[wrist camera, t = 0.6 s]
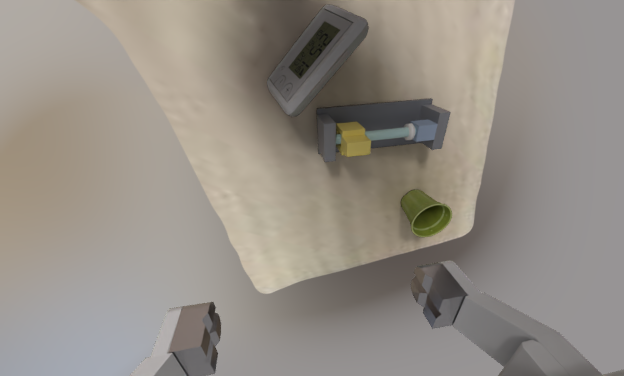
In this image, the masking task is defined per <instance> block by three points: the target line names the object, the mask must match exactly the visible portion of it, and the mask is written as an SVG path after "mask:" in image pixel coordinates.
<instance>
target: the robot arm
mask: <svg viewBox="0 0 624 376" xmlns="http://www.w3.org/2000/svg"><path fill="white" fill-rule="evenodd" d="M414 274H415V277H414V278H413V279H412V281H411V290H412V293H413V296H414V298H415V300H416V302H417V303H418V304H420V305H421V306H423V307H424V309H423V313H424V315H425V317H426V319H427V320H428V322H429V324H430V325H431V327H432V328H439V327H444V326H451V325H453V327H454V328H455V329H457V330H458V331H459V332H460V333H462V334H463V335H464V336H466V337H467V338H468V339H469V340H471V341H472V342H473V343H474V344H476V345H477V346H478V347H479V348H481V349H482V350H483V351H485V352H486V353H487V354H488V355H490V356H491V357H492V358H494V359H495V360H496V361H497V362H498V363H500V364H501V365H502V366H504V368H503V370H502V371H501V372H500V374H499V375H498V376H624V370H620V371H616V372H612V373H608V374H604V375H602V374H601V373H600V372H599V371H598V370H597V369H596V368H595V367H594V366H593V365H592V364H591V363H590V362H589V361H587V359H585V357H583V355H582V354H580V352H579V351H578V350H577V349H575V348H574V347H573V346H572V345H571V344H570V343H569V342H568V341H567V340H566V339H565V338H564V337H563V336H562V335H561V334H560V333H559V332H557V331H555V330H553V329H551V328H550V327H548V326H546V325H544V324H542V323H540V322H538V321H537V320H535V319H533V318H531V317H529V316H527V315H525V314H524V313H522V312H520V311H518V310H516V309H514V308H512V307H511V306H509V305H507V304H505V303H503V302H501V301H499V300H498V299H496V298H494V297H492V296H490V295H488V294H486V293H481V292H480V291H479V290H478V289H477V288H476V286H475V285H474V284H473V283H472V282H471V281H470V280H469V278H468V277H466V275H465V274H464V273H463V272H462V271H461V269H459V267H458V266H457V265H456V264H455V263H454V262H453V261H444V262H439V263H438V262H437V263H432V264H426V265H421V266H417V267H416V268H415V269H414ZM220 335H221V322H220V317H219V315H218V314H217V313H215V305H214V303H213V302H210V303H202V304H197V305H190V306H183V307H176V308H170V309H169V310H168V312H167V313H166V315H165V318H164V320H163V323H162V326H161V329H160V331H159V334H158V337H157V340H156V343H155V345H154V348H153V351H152V354H151V356H150V357H148V358H145V359H144V360H143V361H142V363H141V364H140V365H139V366H138V367H137V368H136V369H135V370H134V372H132V374H131V375H130V376H206V375H211V374H215V370H216V363H217V357H218V352H217V350H216V348H215V346H216V345H217V344H218V342H219V341H220Z"/></svg>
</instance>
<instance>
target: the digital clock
mask: <svg viewBox="0 0 624 376" xmlns="http://www.w3.org/2000/svg"><path fill="white" fill-rule="evenodd" d="M367 32H368V22H367V21H366V20H365V19H364V18H362V17H360V16H357V15H355V14H353V13H351V12H348V11H346V10H344V9H341V8H339V7H337V6H334V5H325V6H324V7H323V8H322V9H321V10H320V12H319V13H318V14H317V15H316V17H315V18H314V19H313V20H312V22H311V23H310V24H309V26H308V27H307V28H306V30H305V31H304V32H303V33H302V35H301V36H300V37H299V39H298V40H297V41H296V43H295V44H294V45H293V46H292V48H291V49H290V50H289V52H288V53H287V54H286V56H285V57H284V58H283V59H282V61H281V62H280V63H279V65H278V66H277V67H276V69H275V70H274V71H273V73H272V74H271V75H270V77H269V78H268V80H267V86H268V89H269V91H270V92H271V94H272V95H273V96H274V98H275V99H276V101H277V102H278V103H279V105H280V106H281V108H282V109H283V110H284V112H285V113H286V114H287V115H289V116H297V115H299V114H300V113H301V112H302V111H303V110H304V108H305V107H306V106H307V105H308V104H309V103H310V102H311V100H312V99H313V98H314V97H315V96H316V95H317V93H318V92H319V91H320V90H321V89H322V88H323V86H324V85H325V84H326V83H327V82H328V81H329V80H330V78H331V77H332V76H333V75H334V74H335V73H336V71H337V70H338V69H339V68H340V67H341V66H342V64H343V63H344V62H345V61H346V60H347V59H348V57H349V56H350V55H351V54H352V53H353V52H354V50H355V49H356V48H357V47H358V46H359V44H360V43H361V42H362V41H363V40H364V38H365V37H366V35H367Z"/></svg>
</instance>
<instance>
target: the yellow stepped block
mask: <svg viewBox="0 0 624 376" xmlns="http://www.w3.org/2000/svg"><path fill="white" fill-rule="evenodd" d="M336 134H341V144H336V147H337V149H338V150H339V152H340V153H341V155H346V156H347V157H351V156H360V155H369V154H370V149H371V140H370V139H369V138H368V137H367V136H366V135H365V128H364V127H362V126H361V125H360V124H359V123H358V122H347V123H337V124H336Z"/></svg>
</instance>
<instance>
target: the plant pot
mask: <svg viewBox="0 0 624 376" xmlns="http://www.w3.org/2000/svg"><path fill="white" fill-rule="evenodd" d="M401 206H402V208H403V210H404V211H405V213H406V215H407V217H408V219H409V221H410V224H411V230H412V232H413V233H414V234H415V235H416V236H418V237H429V236H433V235H435V234H437V233H439V232H441V231H442V230H443V229H444V228H445V227H446V226H447V225H448V224H449V222H450V221H451V218H452V211H451V209H450V207H448V206H447V205H445V204H442V203H439V202H437V201H435V200H434V199H432V198H431V197H429V196H428V195H427V194H425V193H424V192H422V191H420V190H412V191H410V192H408V193H407V194H406V195H405V196H404V197H403V198H402V200H401Z"/></svg>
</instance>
